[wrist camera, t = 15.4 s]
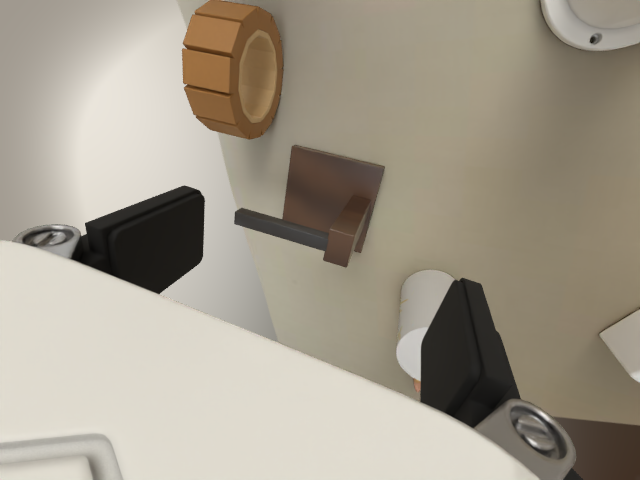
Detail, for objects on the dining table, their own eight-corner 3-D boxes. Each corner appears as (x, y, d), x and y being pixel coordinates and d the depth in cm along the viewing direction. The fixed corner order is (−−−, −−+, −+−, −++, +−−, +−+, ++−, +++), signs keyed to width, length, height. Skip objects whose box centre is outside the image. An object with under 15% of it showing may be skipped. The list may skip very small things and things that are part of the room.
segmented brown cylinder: (250, 17, 35) (179, -17, 25) (288, 23, 35) (232, -9, 24) (243, 125, 41) (184, 134, 30) (276, 133, 40) (227, 145, 30)
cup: (391, 280, 44) (384, 336, 34) (448, 261, 41) (459, 318, 30) (414, 324, 46) (414, 390, 36) (471, 309, 43) (489, 378, 32)
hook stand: (288, 143, 40) (237, 160, 29) (385, 166, 38) (371, 195, 27) (277, 224, 46) (232, 266, 34) (362, 249, 43) (342, 302, 32)
